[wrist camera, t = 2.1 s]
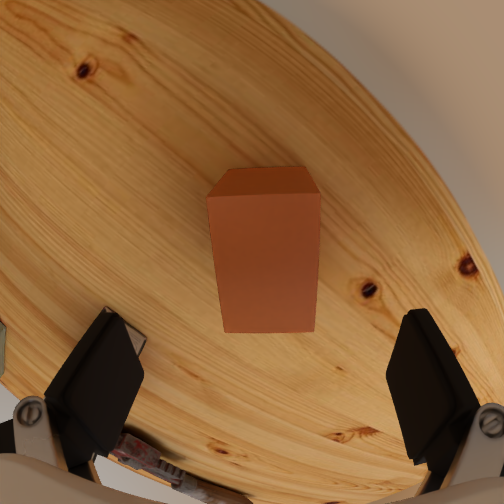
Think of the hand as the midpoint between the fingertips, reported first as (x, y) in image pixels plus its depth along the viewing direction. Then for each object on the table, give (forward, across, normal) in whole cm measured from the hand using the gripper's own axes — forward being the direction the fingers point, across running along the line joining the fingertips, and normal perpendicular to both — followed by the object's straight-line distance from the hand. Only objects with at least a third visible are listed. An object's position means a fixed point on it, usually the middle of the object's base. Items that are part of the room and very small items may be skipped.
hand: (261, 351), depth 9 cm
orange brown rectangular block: (+10, 0, 0) cm, 10 cm away
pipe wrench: (+11, +15, +40) cm, 44 cm away
